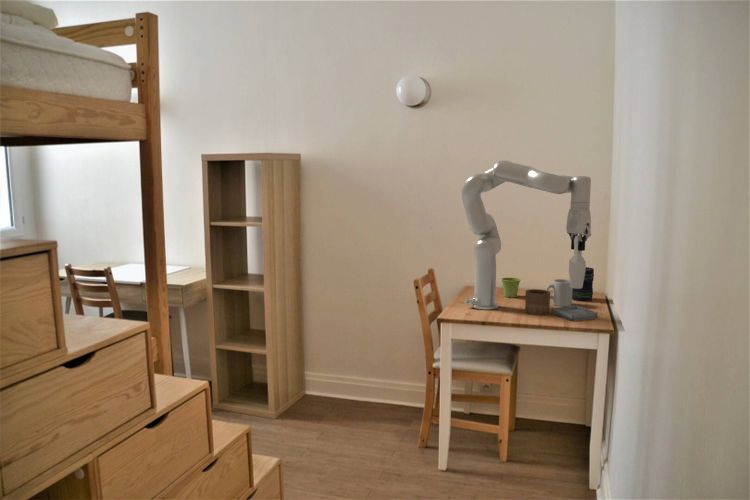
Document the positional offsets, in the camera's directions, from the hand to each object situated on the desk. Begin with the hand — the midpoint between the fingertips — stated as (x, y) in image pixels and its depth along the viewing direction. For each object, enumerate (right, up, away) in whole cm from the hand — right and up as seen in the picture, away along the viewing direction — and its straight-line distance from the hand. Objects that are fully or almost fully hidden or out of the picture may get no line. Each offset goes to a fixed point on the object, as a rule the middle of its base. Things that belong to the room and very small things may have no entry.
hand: (577, 249), depth 247 cm
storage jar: (+14, -24, +35) cm, 45 cm away
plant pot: (-19, -23, +41) cm, 51 cm away
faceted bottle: (0, -16, +2) cm, 16 cm away
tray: (0, -28, +4) cm, 29 cm away
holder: (-14, -27, +11) cm, 33 cm away
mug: (-1, -25, +25) cm, 36 cm away
